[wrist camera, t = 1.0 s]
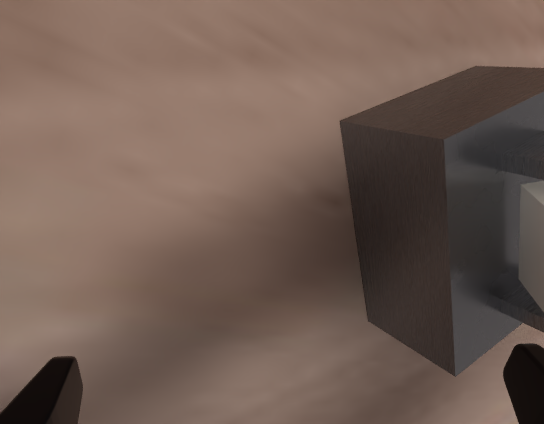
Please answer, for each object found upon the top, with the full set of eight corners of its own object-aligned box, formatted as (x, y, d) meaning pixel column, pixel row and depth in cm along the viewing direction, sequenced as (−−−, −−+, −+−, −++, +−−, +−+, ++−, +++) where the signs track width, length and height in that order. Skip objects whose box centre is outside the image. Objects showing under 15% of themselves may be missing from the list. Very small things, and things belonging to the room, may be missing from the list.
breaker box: (368, 320, 28) (501, 405, 21) (339, 121, 23) (503, 150, 16) (479, 248, 32) (619, 300, 26) (475, 66, 27) (649, 71, 20)
